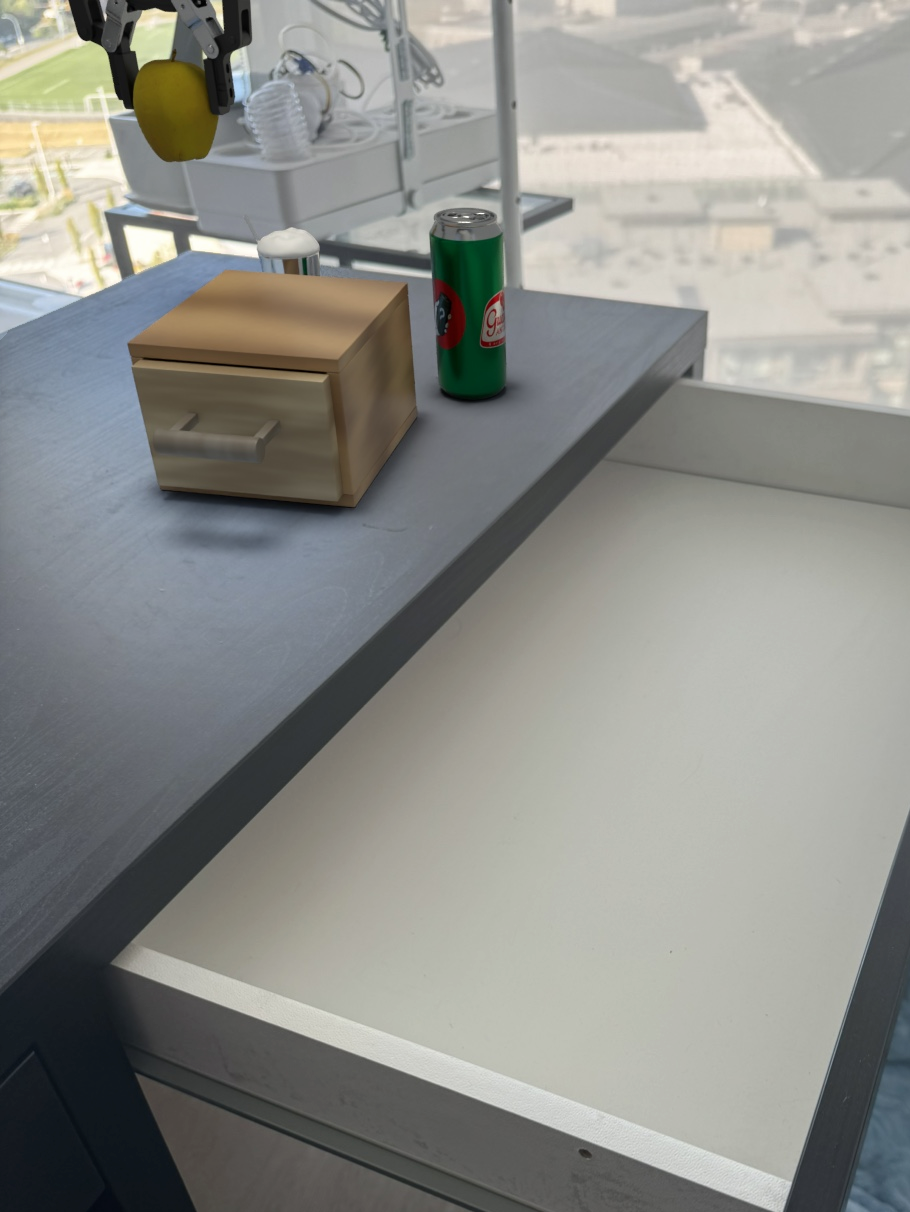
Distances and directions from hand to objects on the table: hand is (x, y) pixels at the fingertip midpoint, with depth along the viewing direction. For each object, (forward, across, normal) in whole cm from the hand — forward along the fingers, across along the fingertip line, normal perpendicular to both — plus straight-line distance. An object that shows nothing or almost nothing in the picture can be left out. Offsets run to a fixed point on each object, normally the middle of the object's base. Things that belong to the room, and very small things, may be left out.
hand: (177, 110), depth 91 cm
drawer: (+14, -17, +31) cm, 38 cm away
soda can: (+15, -26, +14) cm, 33 cm away
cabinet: (+15, -17, +27) cm, 35 cm away
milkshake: (+15, -11, +10) cm, 21 cm away
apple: (+4, 0, 0) cm, 4 cm away
